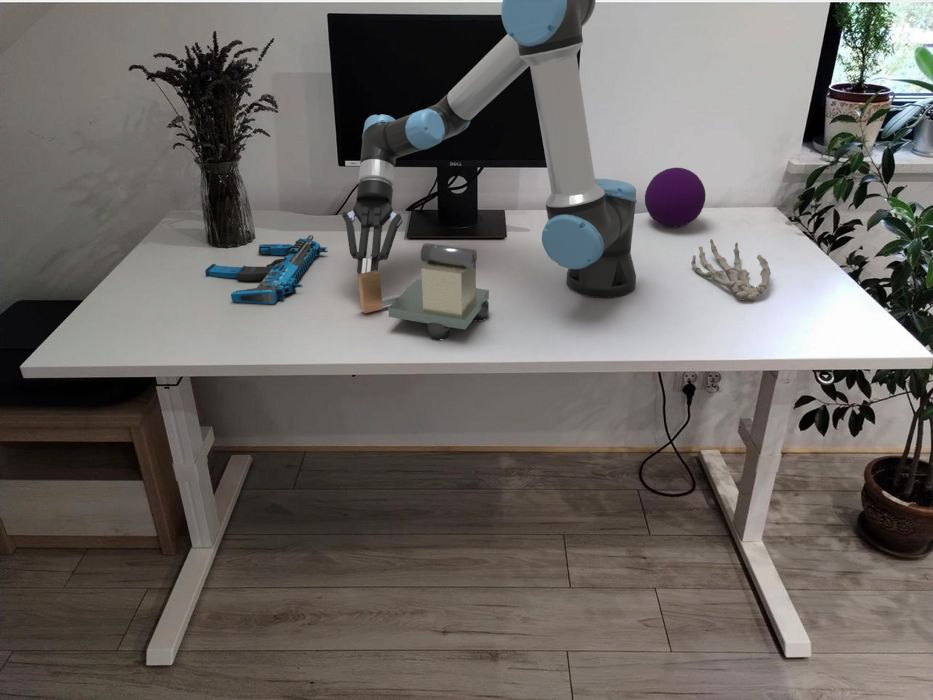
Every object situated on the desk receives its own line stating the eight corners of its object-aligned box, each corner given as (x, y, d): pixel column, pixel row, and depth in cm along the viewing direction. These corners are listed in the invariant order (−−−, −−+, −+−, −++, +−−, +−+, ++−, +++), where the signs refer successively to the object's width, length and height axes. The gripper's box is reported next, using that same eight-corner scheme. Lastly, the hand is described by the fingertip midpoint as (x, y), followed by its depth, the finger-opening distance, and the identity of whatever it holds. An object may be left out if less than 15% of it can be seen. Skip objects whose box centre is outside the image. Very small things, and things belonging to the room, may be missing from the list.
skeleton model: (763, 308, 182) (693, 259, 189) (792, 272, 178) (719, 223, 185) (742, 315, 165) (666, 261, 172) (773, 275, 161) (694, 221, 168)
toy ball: (679, 241, 196) (686, 182, 188) (630, 225, 205) (635, 168, 198) (712, 225, 204) (721, 169, 197) (664, 211, 214) (670, 156, 206)
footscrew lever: (422, 292, 171) (421, 257, 166) (432, 300, 167) (430, 265, 163) (358, 307, 165) (355, 271, 160) (367, 316, 161) (363, 280, 157)
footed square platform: (491, 312, 163) (492, 233, 154) (467, 345, 151) (466, 262, 142) (417, 300, 168) (414, 223, 159) (388, 331, 156) (382, 250, 148)
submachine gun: (239, 231, 198) (335, 229, 194) (242, 245, 200) (338, 244, 196) (179, 290, 168) (292, 290, 165) (184, 306, 170) (295, 306, 167)
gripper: (408, 194, 172) (400, 296, 167) (348, 192, 174) (338, 294, 168) (403, 178, 165) (394, 285, 159) (341, 177, 166) (329, 283, 161)
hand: (365, 289), depth 164 cm, fingers closed
